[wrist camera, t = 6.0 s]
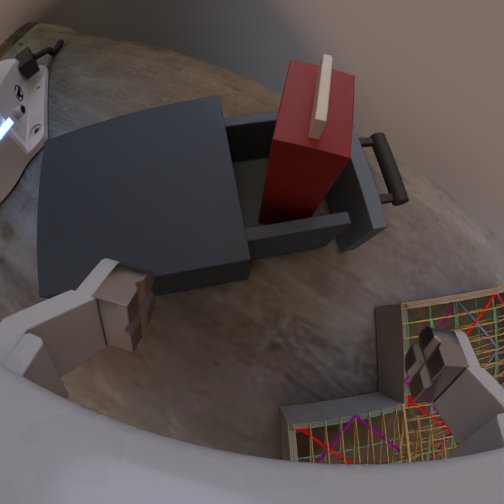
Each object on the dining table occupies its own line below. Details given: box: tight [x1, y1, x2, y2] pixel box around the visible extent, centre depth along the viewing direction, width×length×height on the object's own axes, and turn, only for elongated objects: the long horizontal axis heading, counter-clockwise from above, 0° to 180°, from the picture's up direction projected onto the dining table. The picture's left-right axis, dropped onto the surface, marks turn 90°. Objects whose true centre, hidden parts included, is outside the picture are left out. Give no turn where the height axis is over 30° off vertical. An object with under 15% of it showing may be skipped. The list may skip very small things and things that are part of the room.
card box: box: [258, 54, 355, 225], centre depth 19 cm, size 4×6×13 cm, turn 168°
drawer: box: [224, 112, 409, 260], centre depth 23 cm, size 16×10×7 cm, turn 101°
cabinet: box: [37, 96, 251, 299], centre depth 22 cm, size 14×12×9 cm
